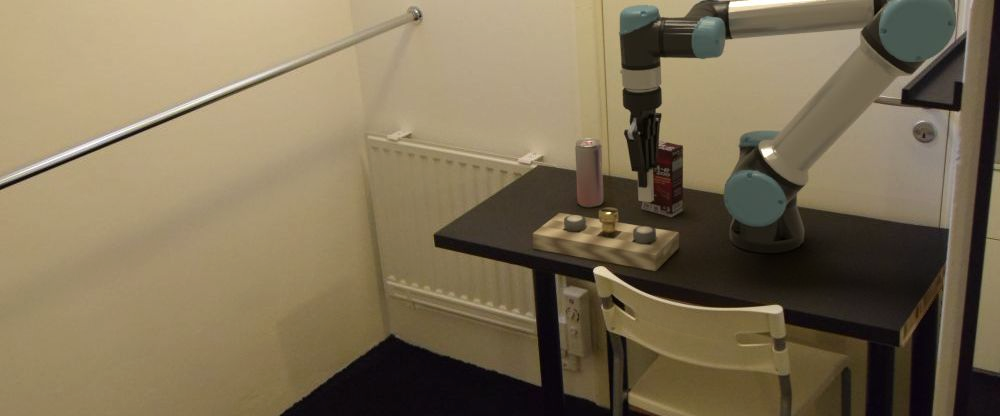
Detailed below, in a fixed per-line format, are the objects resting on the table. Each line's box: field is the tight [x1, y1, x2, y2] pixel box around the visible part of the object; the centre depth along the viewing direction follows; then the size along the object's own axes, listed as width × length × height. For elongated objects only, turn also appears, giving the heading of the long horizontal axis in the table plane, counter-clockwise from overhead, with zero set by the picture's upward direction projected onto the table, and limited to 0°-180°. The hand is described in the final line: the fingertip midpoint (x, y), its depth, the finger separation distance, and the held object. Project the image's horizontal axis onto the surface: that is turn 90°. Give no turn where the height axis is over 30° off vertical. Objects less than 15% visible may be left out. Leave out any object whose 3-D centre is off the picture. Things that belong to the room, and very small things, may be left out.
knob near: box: [633, 225, 657, 245], centre depth 217 cm, size 5×5×6 cm
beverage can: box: [574, 137, 604, 209], centre depth 243 cm, size 6×6×15 cm
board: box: [532, 212, 680, 272], centre depth 222 cm, size 28×12×4 cm, turn 59°
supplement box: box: [640, 140, 684, 218], centre depth 236 cm, size 9×5×16 cm, turn 46°
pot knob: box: [598, 207, 620, 237], centre depth 220 cm, size 4×4×6 cm
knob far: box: [564, 214, 586, 233], centre depth 225 cm, size 5×5×6 cm
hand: (646, 200), depth 213 cm, fingers closed
